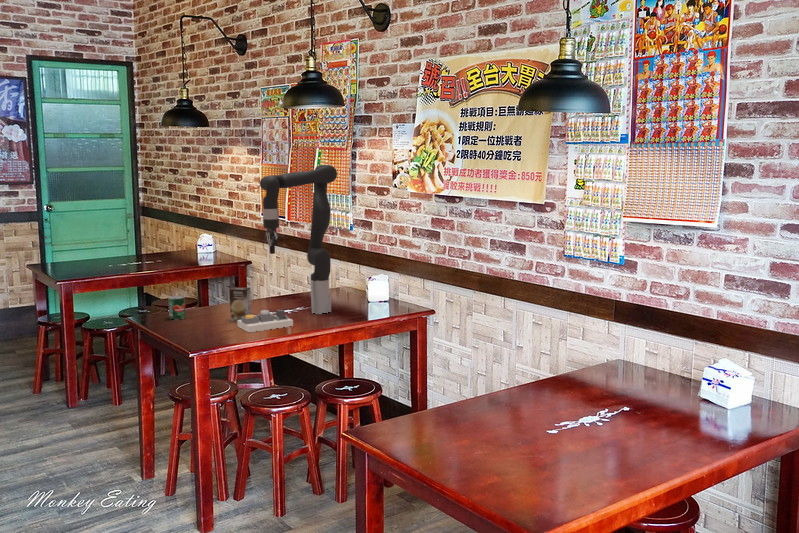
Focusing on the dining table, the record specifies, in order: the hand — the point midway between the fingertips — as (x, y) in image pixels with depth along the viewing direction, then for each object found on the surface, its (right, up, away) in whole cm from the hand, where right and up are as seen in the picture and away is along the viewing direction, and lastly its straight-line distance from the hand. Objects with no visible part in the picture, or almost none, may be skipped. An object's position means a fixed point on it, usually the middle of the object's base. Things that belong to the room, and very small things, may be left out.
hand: (272, 253), depth 361 cm
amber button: (-8, -32, -12) cm, 35 cm away
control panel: (-2, -35, -8) cm, 36 cm away
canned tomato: (-49, -33, +11) cm, 60 cm away
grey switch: (-2, -30, -9) cm, 32 cm away
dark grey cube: (+5, -31, -7) cm, 32 cm away
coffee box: (-16, -33, +5) cm, 37 cm away
